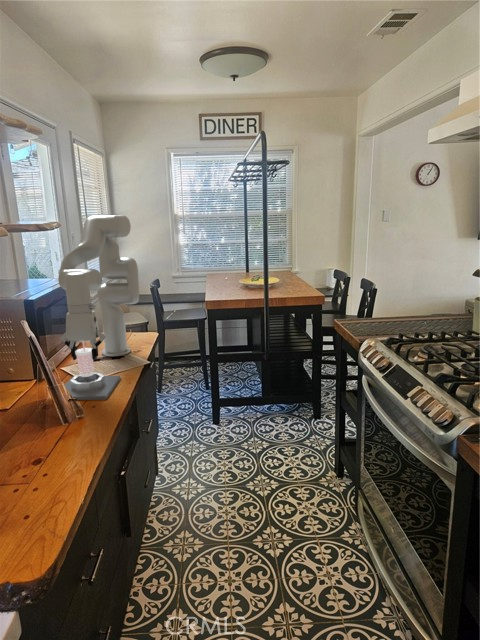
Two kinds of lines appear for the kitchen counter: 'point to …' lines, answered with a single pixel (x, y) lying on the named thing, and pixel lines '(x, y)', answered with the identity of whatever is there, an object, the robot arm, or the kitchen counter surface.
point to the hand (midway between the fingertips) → (85, 358)
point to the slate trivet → (96, 394)
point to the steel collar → (83, 386)
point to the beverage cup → (85, 361)
